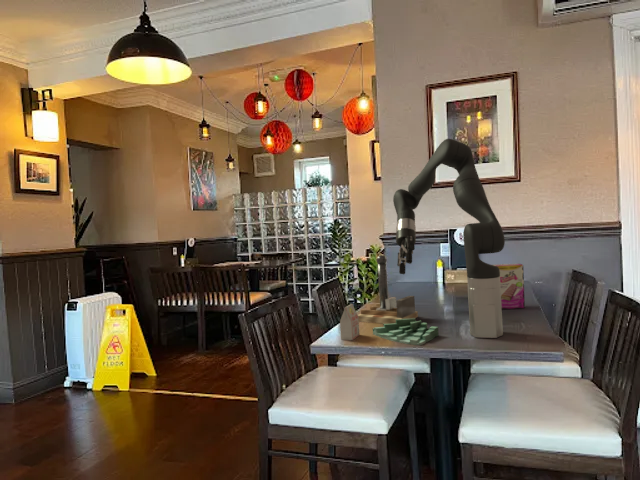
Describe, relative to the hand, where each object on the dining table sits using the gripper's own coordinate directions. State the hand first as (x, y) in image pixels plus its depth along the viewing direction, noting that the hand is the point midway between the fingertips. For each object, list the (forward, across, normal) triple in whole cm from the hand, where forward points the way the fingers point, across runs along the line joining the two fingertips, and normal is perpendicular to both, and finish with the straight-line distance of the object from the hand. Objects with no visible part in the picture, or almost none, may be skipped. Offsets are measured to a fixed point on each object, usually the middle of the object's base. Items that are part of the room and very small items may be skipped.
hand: (405, 268), depth 175 cm
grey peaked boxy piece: (+34, +10, -20) cm, 41 cm away
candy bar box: (+8, -3, +41) cm, 42 cm away
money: (+34, +15, -5) cm, 37 cm away
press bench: (+19, -6, -5) cm, 20 cm away
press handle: (+17, -5, -5) cm, 19 cm away
